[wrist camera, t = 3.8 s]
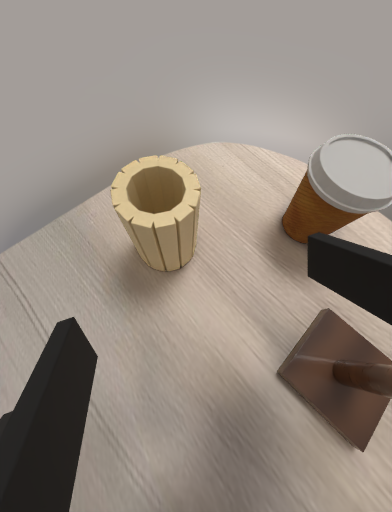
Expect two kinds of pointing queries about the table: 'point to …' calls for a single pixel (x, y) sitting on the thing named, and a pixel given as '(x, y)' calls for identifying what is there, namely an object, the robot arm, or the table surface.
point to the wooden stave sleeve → (159, 209)
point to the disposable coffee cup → (340, 186)
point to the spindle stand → (341, 377)
